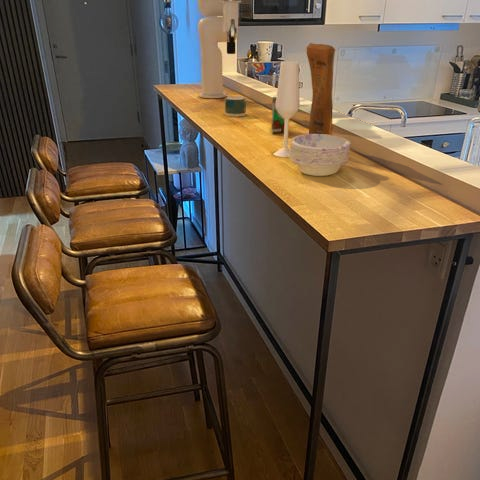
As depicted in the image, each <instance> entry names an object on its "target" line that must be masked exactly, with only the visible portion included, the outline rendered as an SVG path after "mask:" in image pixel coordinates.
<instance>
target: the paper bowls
mask: <svg viewBox="0 0 480 480" xmlns="http://www.w3.org/2000/svg"><path fill="white" fill-rule="evenodd" d="M289 144H290V145H289V149H290V157H289V161H290V162H291V163H294V164H295V165H296V167H297V170H298V171H299V172H301V173H302V174H305V175H307V176H312V177H313V176H314V177H327V176H333V175H334V174H337V172H338V171H339V170H340V168H341V166H344V165H346V164H347V163H348V162H349V159H350V158H349V157H350V152H351V141H350V140H349V139H347V138H345V137H342V136H339V135H334V134H332V135H327V134H309V133H307V134H300V135H296V136H294V137H292V138H291V140H290V143H289Z"/></svg>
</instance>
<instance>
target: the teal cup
mask: <svg viewBox="0 0 480 480" xmlns="http://www.w3.org/2000/svg"><path fill="white" fill-rule="evenodd" d="M246 115H247V98H246V97H245V96H238V95H237V96H236V95H235V96H226V97H224V116H226V117H234V118H235V117H238V118H239V117H245V116H246Z"/></svg>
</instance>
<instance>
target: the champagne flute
mask: <svg viewBox="0 0 480 480" xmlns="http://www.w3.org/2000/svg"><path fill="white" fill-rule="evenodd" d="M275 97H276V105H275V107H276V110H277V111H278V113H279V114H280V115H281V116H282V117H283V118H284V119H285V124H284V133H283V147H282V148H280V149H278V150H276V151H275V152H273V155H274V156H275V157H280V158H290V147H288V143H289V141H288V140H289V124H290V119H292V118H293V117H294V116H295V115H296V114H297V113H298V111H299V109H300V106H301V105H300V62H299V61H293V60H292V61H291V60H284V61H281V62H280V67H279V75H278V83H277V90H276V96H275Z"/></svg>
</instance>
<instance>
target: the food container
mask: <svg viewBox="0 0 480 480" xmlns="http://www.w3.org/2000/svg"><path fill="white" fill-rule="evenodd" d="M276 97H277V96H272V102H271V103H272V105H271V107H272V108H271V132H272V133H271V134H272V135H281V134H284V124H285V119H284V118H283V117H282V116H281V115H280V114H279V113H278V111H277V110H276V107H275V105H276Z"/></svg>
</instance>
